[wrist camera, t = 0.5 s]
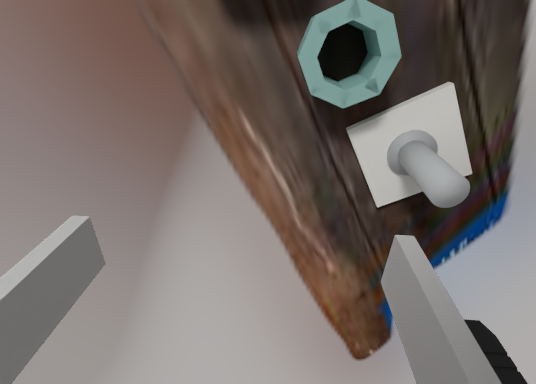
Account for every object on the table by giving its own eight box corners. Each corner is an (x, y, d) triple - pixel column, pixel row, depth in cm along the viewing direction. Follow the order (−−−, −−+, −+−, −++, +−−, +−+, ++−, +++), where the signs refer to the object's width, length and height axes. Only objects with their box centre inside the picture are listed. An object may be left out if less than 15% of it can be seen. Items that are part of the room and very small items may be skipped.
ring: (322, -11, 26) (328, -18, 22) (398, 27, 28) (418, 26, 23) (287, 76, 30) (287, 83, 26) (355, 106, 31) (365, 118, 27)
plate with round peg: (345, 128, 33) (365, 163, 24) (448, 81, 30) (515, 103, 21) (375, 203, 37) (401, 256, 28) (467, 169, 34) (528, 218, 25)
